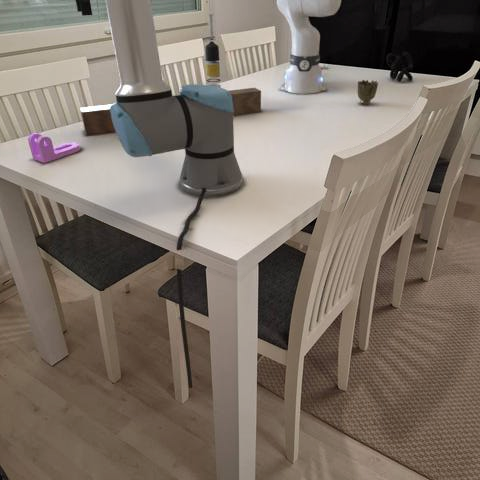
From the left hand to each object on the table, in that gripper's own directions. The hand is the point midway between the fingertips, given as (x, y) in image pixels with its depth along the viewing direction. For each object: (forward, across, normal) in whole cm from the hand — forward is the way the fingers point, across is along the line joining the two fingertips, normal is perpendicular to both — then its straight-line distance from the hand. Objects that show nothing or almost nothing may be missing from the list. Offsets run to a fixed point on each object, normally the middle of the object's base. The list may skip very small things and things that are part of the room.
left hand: (84, 13), depth 129 cm
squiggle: (+35, +15, -132) cm, 137 cm away
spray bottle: (+35, +50, -105) cm, 121 cm away
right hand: (-2, 0, -48) cm, 48 cm away
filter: (+35, +26, -47) cm, 64 cm away
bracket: (+35, -17, +16) cm, 41 cm away
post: (+35, 0, -24) cm, 42 cm away
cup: (+35, -11, -94) cm, 101 cm away
